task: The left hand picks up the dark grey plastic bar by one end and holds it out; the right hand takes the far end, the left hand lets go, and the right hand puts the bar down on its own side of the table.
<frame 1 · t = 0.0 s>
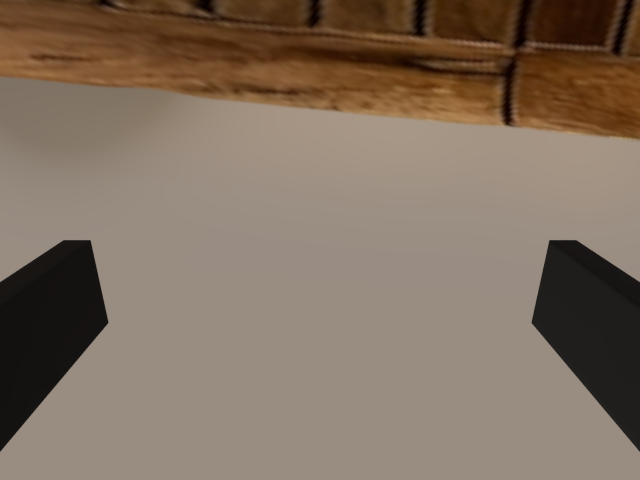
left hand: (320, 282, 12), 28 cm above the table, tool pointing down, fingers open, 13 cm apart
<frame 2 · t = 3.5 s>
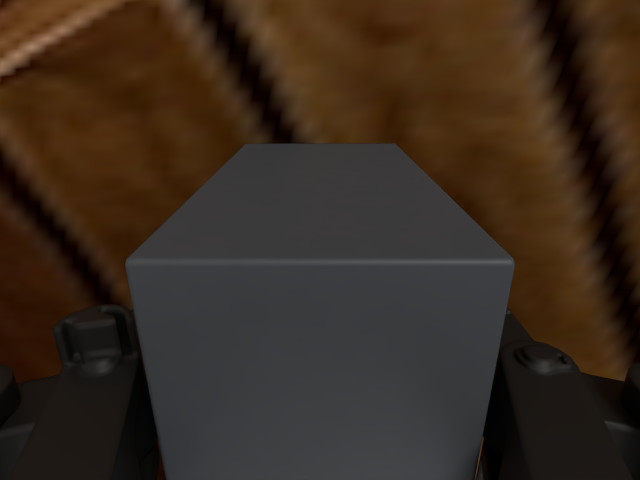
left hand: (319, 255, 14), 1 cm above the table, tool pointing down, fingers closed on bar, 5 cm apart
bar: (320, 419, 18), on the table, touching left hand
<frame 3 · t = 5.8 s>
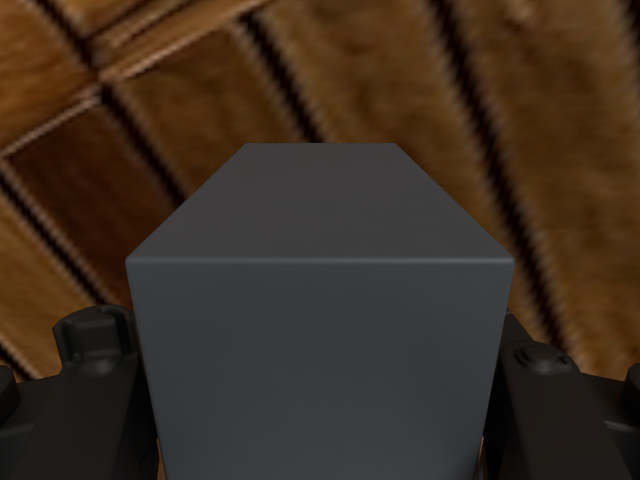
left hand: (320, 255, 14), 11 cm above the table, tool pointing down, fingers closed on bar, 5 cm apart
bar: (320, 419, 18), point 10 cm above the table, touching left hand
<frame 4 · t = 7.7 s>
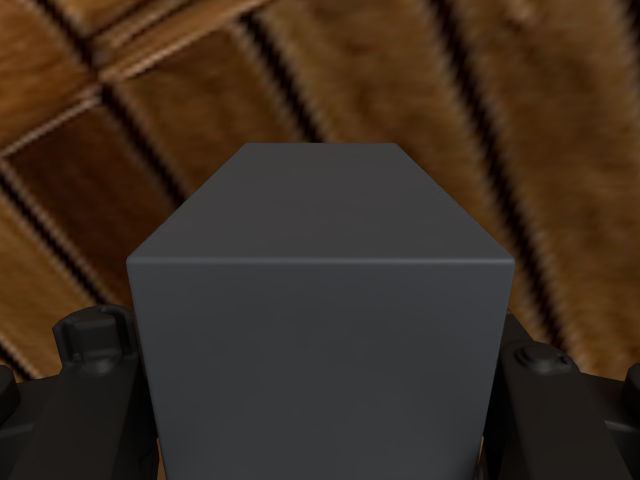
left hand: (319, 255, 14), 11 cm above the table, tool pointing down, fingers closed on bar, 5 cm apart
bar: (319, 419, 18), point 10 cm above the table, touching left hand, right hand
when the left hand's fingers open (11 cm above the table, at t = 8.4 s): bar stays where it is, held by the right hand.
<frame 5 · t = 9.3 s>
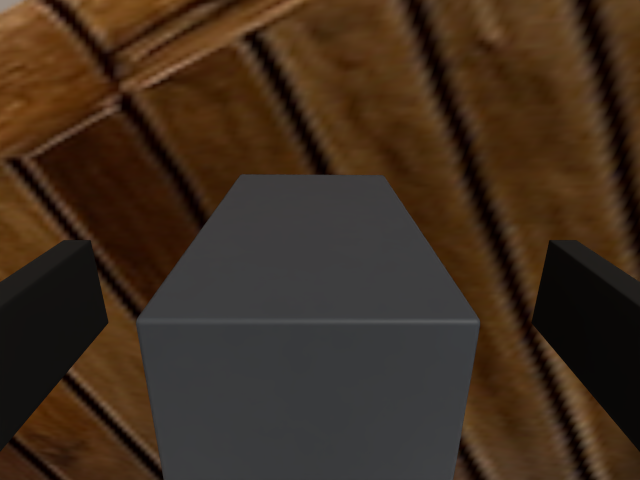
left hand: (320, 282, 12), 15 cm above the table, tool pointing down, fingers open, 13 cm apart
bar: (311, 433, 18), point 13 cm above the table, touching right hand
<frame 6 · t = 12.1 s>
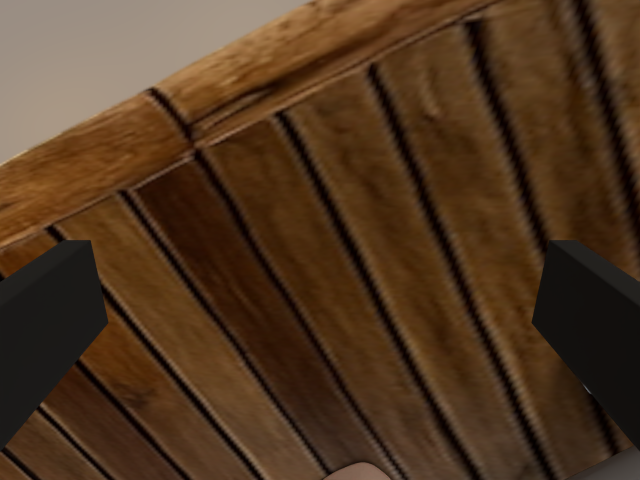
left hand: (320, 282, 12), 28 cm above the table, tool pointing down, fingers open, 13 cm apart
when the right hand's fingers open (2 cm above the table, at t = 16.5 s): bar drops 2 cm, on the table.
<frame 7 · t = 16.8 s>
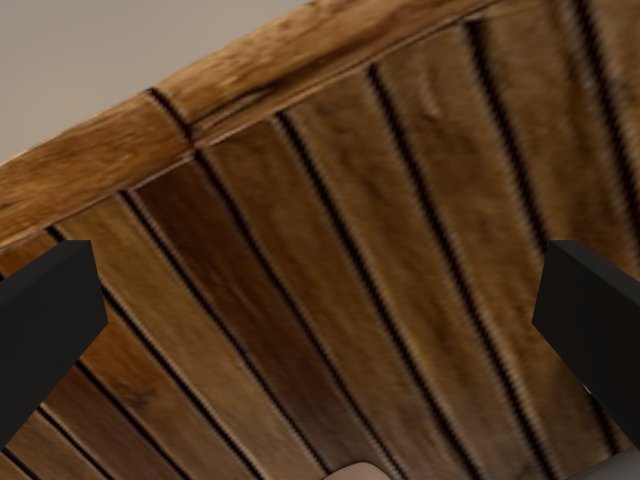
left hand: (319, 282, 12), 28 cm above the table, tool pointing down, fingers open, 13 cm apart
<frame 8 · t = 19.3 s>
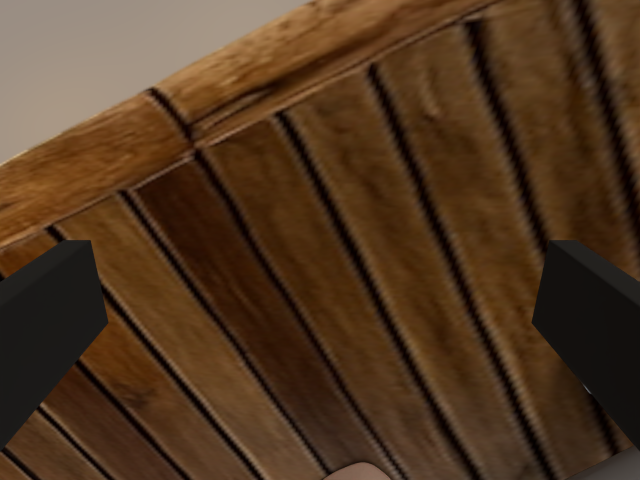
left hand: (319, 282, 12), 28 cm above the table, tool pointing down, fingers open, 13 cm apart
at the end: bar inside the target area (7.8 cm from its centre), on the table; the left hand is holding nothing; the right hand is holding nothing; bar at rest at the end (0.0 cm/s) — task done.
